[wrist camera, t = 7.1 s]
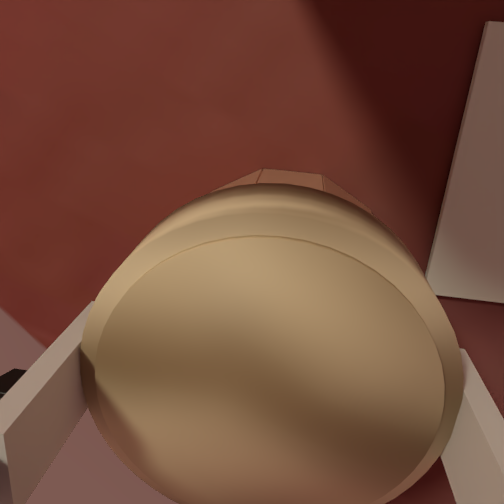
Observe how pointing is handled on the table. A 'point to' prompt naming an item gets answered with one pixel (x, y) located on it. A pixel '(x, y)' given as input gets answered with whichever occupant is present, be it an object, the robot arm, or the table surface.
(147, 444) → the brass lid
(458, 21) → the table surface
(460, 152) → the silicone mat
